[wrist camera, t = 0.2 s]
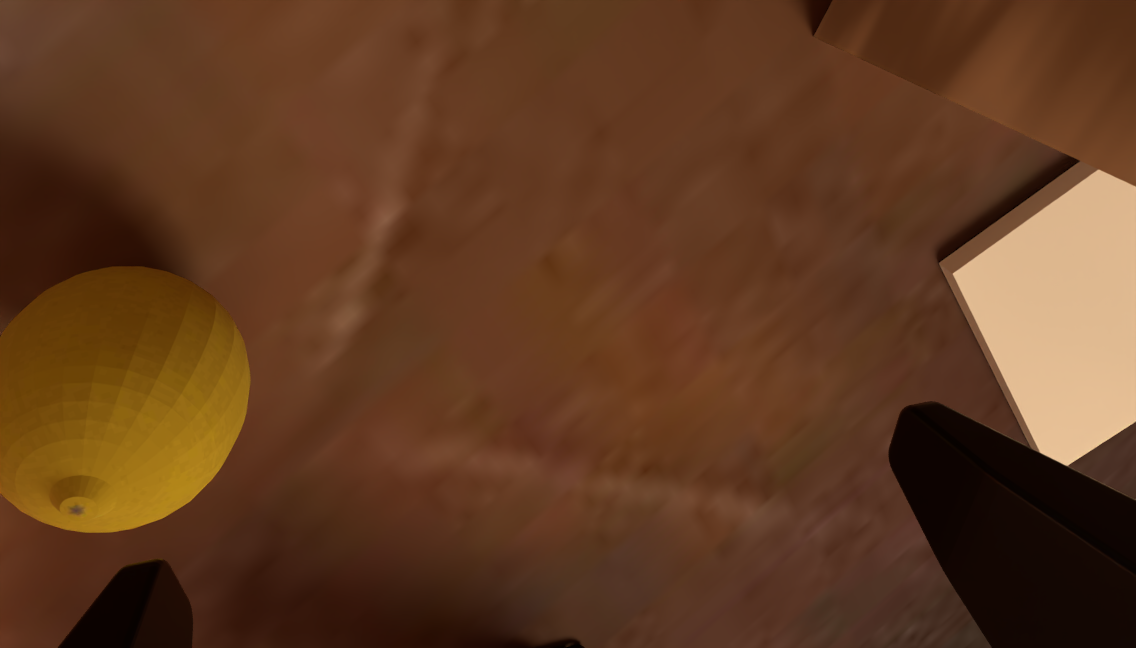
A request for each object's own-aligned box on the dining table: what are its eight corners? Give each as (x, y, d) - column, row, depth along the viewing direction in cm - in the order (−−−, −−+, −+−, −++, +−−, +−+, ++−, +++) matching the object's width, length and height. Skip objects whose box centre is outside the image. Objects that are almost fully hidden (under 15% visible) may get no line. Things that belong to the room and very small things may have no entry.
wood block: (935, 93, 24) (1397, 307, 13) (813, 36, 22) (1241, 236, 12) (1038, -73, 22) (1682, 27, 11) (912, -152, 20) (1552, -121, 9)
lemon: (171, 179, 20) (87, 351, 13) (301, 327, 23) (284, 525, 17) (-7, 279, 20) (-174, 496, 14) (146, 412, 23) (70, 638, 17)
